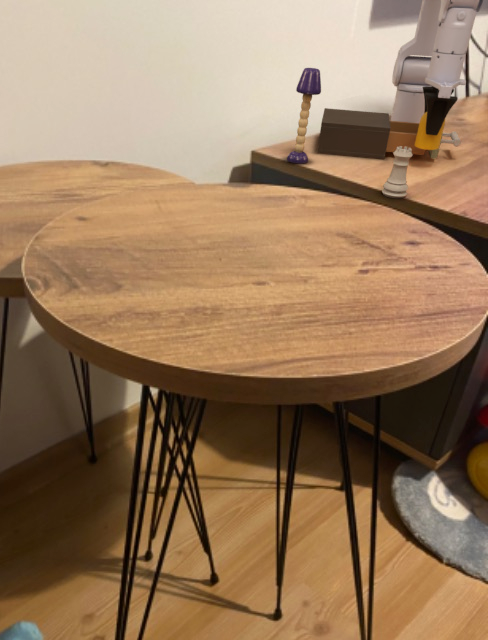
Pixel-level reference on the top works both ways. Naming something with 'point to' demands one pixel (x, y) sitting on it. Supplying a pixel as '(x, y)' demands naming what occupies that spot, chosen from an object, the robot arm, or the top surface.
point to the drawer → (413, 138)
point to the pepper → (427, 136)
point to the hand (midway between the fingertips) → (430, 131)
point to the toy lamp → (305, 111)
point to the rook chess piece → (398, 174)
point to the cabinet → (354, 133)
